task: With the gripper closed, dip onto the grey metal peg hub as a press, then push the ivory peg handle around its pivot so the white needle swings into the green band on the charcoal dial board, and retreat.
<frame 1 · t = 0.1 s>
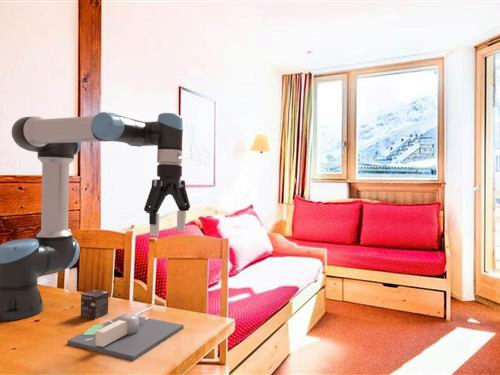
hand: (168, 233, 112), 28 cm above the table, fingers open, 13 cm apart
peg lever: (128, 324, 102), point 3 cm above the table, hinge at 0.0°
dial board: (128, 335, 102), on the table
box: (94, 316, 118), on the table
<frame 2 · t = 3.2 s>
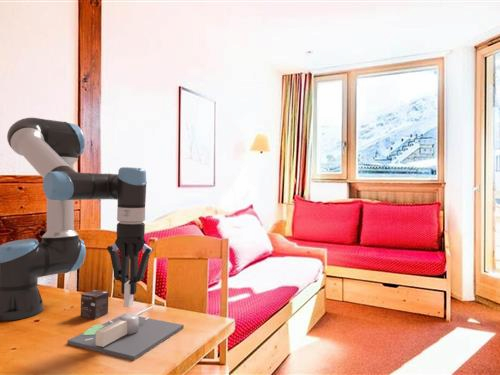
hand: (128, 305, 103), 8 cm above the table, fingers closed
nothing on the table moved.
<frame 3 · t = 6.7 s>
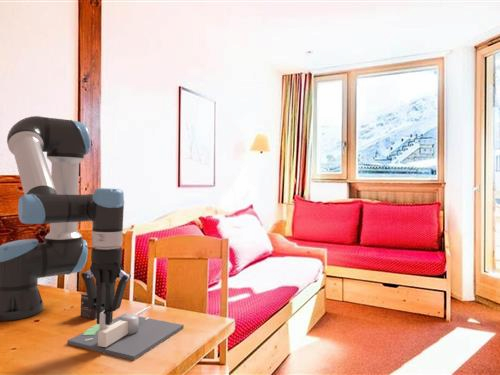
hand: (104, 336, 96), 3 cm above the table, fingers closed
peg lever: (128, 324, 102), point 3 cm above the table, hinge at 4.1°, touching gripper
everything else where it was.
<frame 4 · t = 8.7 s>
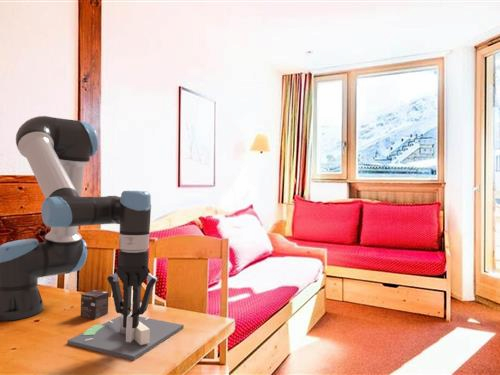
hand: (130, 339, 95), 2 cm above the table, fingers closed
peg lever: (129, 324, 102), point 3 cm above the table, hinge at 61.8°, touching gripper
everything else where it was.
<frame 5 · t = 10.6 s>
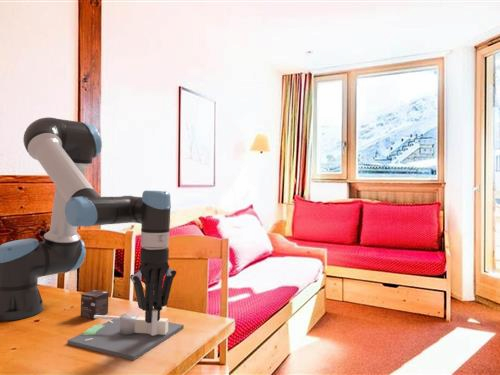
hand: (152, 333, 99), 2 cm above the table, fingers closed
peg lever: (130, 324, 102), point 3 cm above the table, hinge at 105.5°, touching gripper
everything else where it was.
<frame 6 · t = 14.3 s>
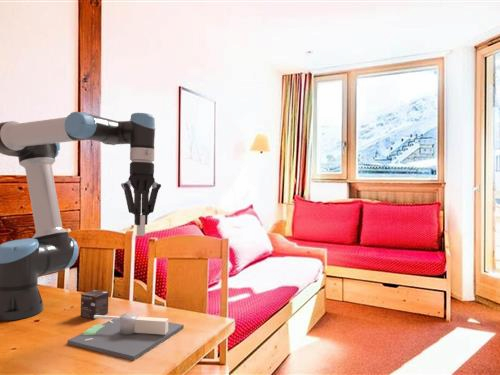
hand: (140, 235, 117), 26 cm above the table, fingers closed
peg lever: (130, 324, 102), point 3 cm above the table, hinge at 105.6°
everything else where it was.
at the end: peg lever at +106° (first picture: +0°); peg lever touching nothing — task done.
